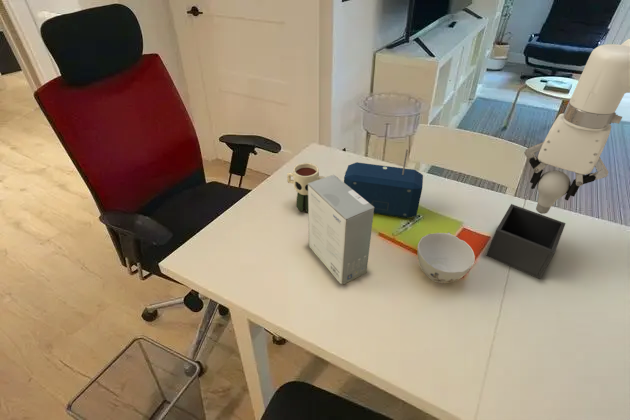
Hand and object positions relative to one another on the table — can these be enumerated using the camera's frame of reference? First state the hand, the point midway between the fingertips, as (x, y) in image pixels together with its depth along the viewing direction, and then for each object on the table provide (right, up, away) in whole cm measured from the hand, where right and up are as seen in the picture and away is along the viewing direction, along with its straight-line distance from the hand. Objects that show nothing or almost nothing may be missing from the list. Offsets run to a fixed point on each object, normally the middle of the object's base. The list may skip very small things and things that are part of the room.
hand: (550, 190), depth 82 cm
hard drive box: (-47, -17, +11) cm, 51 cm away
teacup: (-22, -19, +8) cm, 30 cm away
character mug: (-55, -4, +27) cm, 61 cm away
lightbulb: (0, -5, +4) cm, 6 cm away
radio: (-33, -3, +27) cm, 43 cm away
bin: (0, -15, +12) cm, 19 cm away
